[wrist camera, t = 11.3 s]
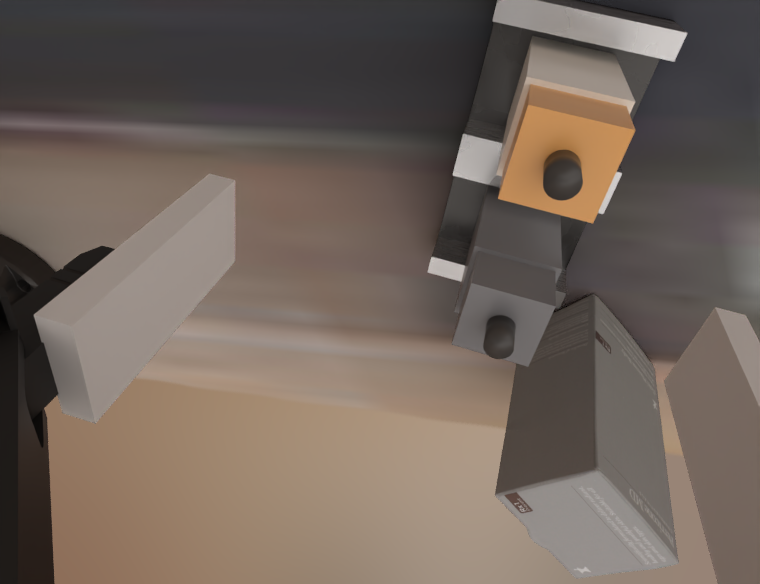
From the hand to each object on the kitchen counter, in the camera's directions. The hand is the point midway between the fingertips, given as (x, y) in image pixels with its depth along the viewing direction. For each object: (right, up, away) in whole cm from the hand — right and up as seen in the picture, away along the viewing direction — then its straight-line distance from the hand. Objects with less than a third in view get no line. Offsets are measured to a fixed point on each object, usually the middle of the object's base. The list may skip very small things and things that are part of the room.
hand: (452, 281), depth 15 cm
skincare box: (+13, -4, +26) cm, 30 cm away
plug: (+8, +11, +16) cm, 21 cm away
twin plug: (+7, +5, +21) cm, 23 cm away
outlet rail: (+8, +8, +19) cm, 22 cm away
